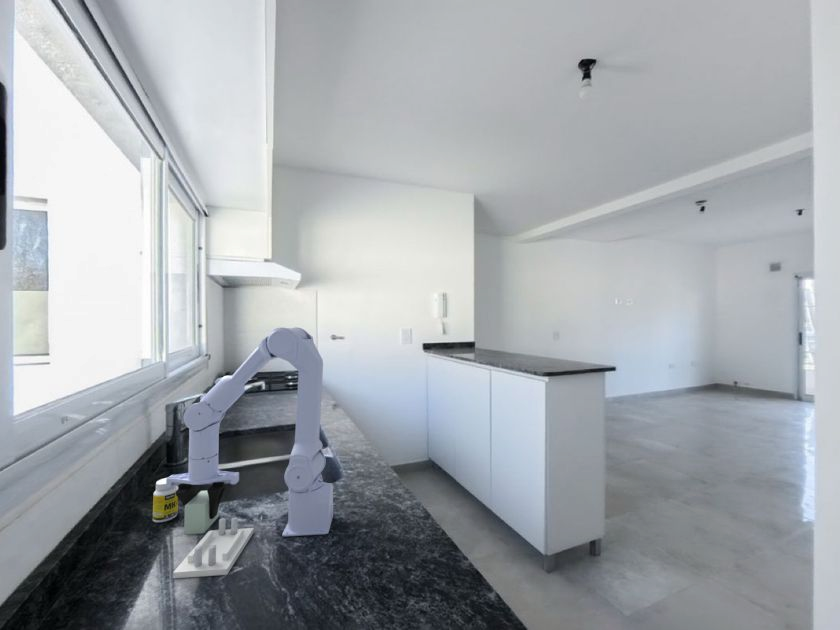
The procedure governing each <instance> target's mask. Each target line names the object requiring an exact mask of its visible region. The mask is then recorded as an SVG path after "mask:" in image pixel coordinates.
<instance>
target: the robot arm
mask: <svg viewBox="0 0 840 630" xmlns="http://www.w3.org/2000/svg"><path fill="white" fill-rule="evenodd" d="M314 342H315V341H314V337H313V336H312V335H311V334H310V333H308V331H306V330H305V329H304V328H301V327H290V328H289V327H276V328H274V329H273V330H271V331H270V333H269V334H268V336H265V337H264V338H263V339H261V340H260V343H259V344H258V345H257V347H256V348H255V349H253V351H252V352H251V353H250V355H249V356H248V357H247V358H246V359H245V360H244V361H243V362H242V364H241V365H240V366H239V367H238V368H237V369H236V370H235V372H234V373H232V375H224V376H223V377H218V378H216V380H215V381H214V384H215V385H214V386H212V387H211V388H210V389H209V391H208V392H207V393H205V394H202V395H201V396H200V398H199V400H200V401H199V402H196V403H192V404H188V406H187V408H186V409H185V411H184V413H183V416H182V417H183V423H184V425H185V427H186V428H188V429H189V430H188V431H189V433H188V436H189V437H188V467H187V468H188V470H187V472H186V473H178V474H171V475H170V476H168V477H166V478H167V479H166V487H172V486H177V487H178V490H177V491H176V496H177V497H178V500H179V501H180V502H181V504H182V506H183V509H184V510H185V505H186V504H187V503H188V502H190V501H191V500H192V499H193V498H194V497H195V496H196V495H197V494H198V489H199V485H211V486H210V487H209V488H208V489H207V490H206V491H207V492H208V496H209V503H210V510H209V516H210V519H213V518H214V517H215V516H216V515H217V512H218V508H219V509H220V505H221V504H220V503H221V501H222V498H223V496H224V492H225V491H226V489H227V487H228V485H229V484H230V485H236V484H237V483H238V482H239V481H240V472H239V471H236V472H235V471H225V470H219V448H220V447H219V444H220V443H219V441H220V440H219V439H220V436H219V435H220V428H221V427H220V425H221V423H222V422H221V421H222V420H223V419H224V417H225V416H226V411H227V410H229V409H230V408H231V407H232V406H233V404H234V403H235V402H236V401H238V399H239V398H240V397H241V396H242V395H243V394H244V393H245V384H247V383H248V381H250V380H251V379H252V378H253V377H254V376H255V375H256V374H257V373H258V372H260V371H261V370H262V368H264V366H265V365H266V364H268V363H269V362H270V361H272V360H276V359H278V358H280V359H282V360H284V361H286V362H288V363H289V364H290V365H291V366H293V367H294V369H296V370H297V371H298V375H297V376H298V377H297V378H298V379H297V393H296V394H297V395H296V414H295V432H294V434H295V435H294V444H293V447H292V450H291V453H290V455H289V463H288V466H287V467H286V469H285V472H284V476H283V478H284V483H285V485H286V486H287V487H288V509H287V510H288V516H287V517H288V520H287V523H286V526H285V528H284V530H283V532H282V537H296V536H297V537H298V536H301V537H302V536H315V535H327V534H329V531H330V529H331V524H332V522H333V518H334V485H333V483H330V482H325V481H323V480H324V479H323V476H322V472H323V470H324V469H325V466H326V462H327V461H326V460H327V459H326V455H325V453H324V449H323V445H324V444H323V443H322V441H321V439H320V434H321V433H320V431H321V415H322V414H321V413H322V412H321V411H322V409H321V408H322V394H323V393H322V391H323V373H324V372H323V371H324V370H323V369H324V362H323V358H322V356H321V354H320V352H319V350H318V348H317V346H316V344H315V343H314Z"/></svg>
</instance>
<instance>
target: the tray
mask: <svg viewBox="0 0 840 630" xmlns="http://www.w3.org/2000/svg"><path fill="white" fill-rule="evenodd" d="M238 519H239V518H238V517H236V516H235V517H232V518H231V520H230V528H228V529H227V528H226V521H227V518H225V517H222V518H219V519H218V529H213V530H212V529H210V530H208V532H207V531H206V533H205V535H204V536H203V537H202V539H200V540H199V542H198V543H197V544H196V545H195V546H194V547H193V549H192V550H191V551H190V552H189V553H188V554H187V555H186V557H185V558H184V559H183V560H182V562H180V564H179V565H178V566H177V568H175V569H174V571H173V573H172V579H183V578H184V579H185V578H198V577H200V578H201V577H213V576H214V577H215V576H227V575H228V574H229V573H230V570H231V569H232V568H233V567H234V564H235V563H236V561H237V560H238V558H239V557H240V555H241V553H242V552H243V550H244V548H245V547H246V545H247V544H248V543H249V541H250V539H251V537H252V536H253V534H254V529H255V528H254V527H245V528H238V526H239V525H238V523H239V521H238Z"/></svg>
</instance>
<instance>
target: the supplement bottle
mask: <svg viewBox="0 0 840 630" xmlns="http://www.w3.org/2000/svg"><path fill="white" fill-rule="evenodd" d="M167 478H168V477H165V478H160V479H158V480H157V481H156V483H155V491H154V492H153V497H152V498H153V500H152V504H153V505H152V522H154V523H165V522H168V521H171V520H173V519H174V518H176V517H177V515H178V513H179V512H178V511H179V498H178V497H177V496H176V491H177V490H178V488H179V486H172V487H166V479H167Z"/></svg>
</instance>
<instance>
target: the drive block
mask: <svg viewBox="0 0 840 630" xmlns="http://www.w3.org/2000/svg"><path fill="white" fill-rule="evenodd" d="M209 510H210V503H209V496H208V492H207V490H200V491H199V492H197V495H196V496H195V497H194V498H193V499H192V500H191V501H190V502H188V503H187V504H186V505H185V509H184V518H183V519H184V523H183V526H184V528H183V534H184V535H194V534H195V535H197V534H206V533H207V530H208V529H209V528H210V527H211V526H212V525H213V524H214V522H215V521H216V520H217V519H218V518H219V517H220V507H219V508H218V512H217V515H216V516H215V517H214V518H213V519H210V516H209Z"/></svg>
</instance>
